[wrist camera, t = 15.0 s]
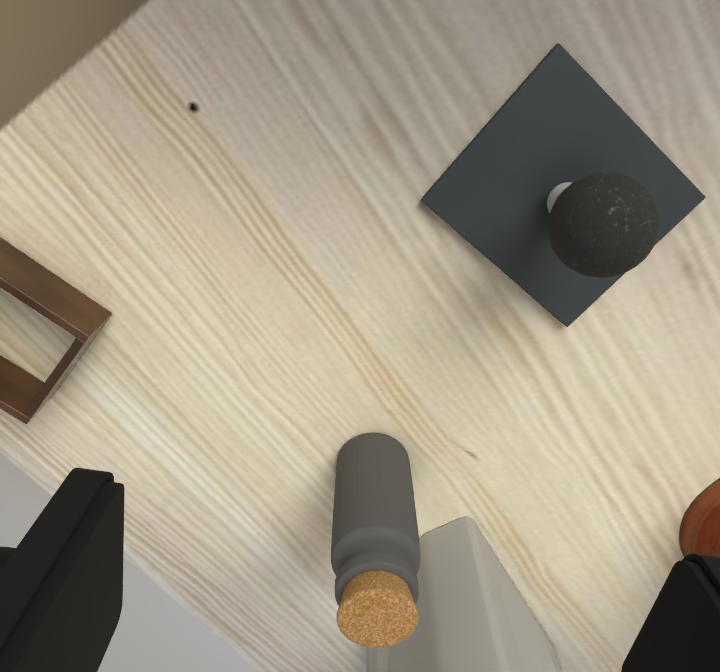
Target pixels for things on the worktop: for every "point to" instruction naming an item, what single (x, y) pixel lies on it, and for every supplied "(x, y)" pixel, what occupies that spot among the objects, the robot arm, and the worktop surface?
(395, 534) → the bottle
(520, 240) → the mat
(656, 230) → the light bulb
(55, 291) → the crate
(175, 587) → the worktop surface
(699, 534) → the lantern
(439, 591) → the triangular concrete planter
